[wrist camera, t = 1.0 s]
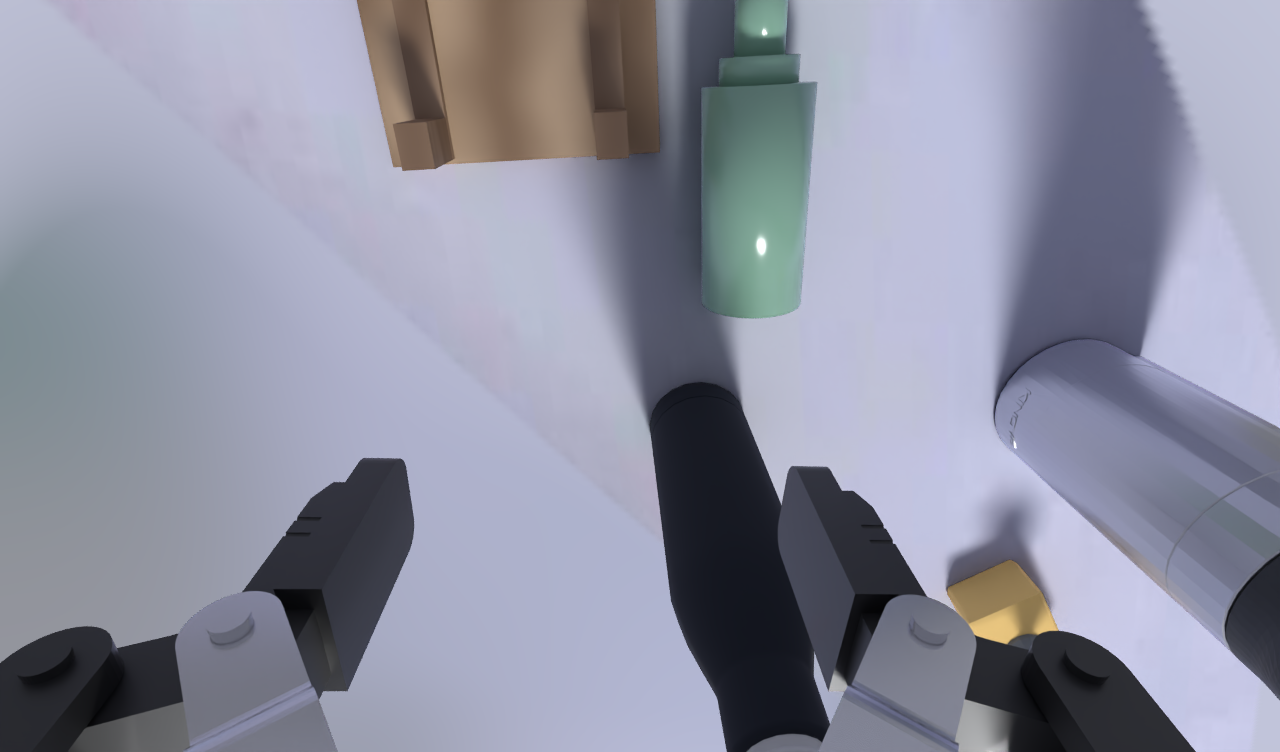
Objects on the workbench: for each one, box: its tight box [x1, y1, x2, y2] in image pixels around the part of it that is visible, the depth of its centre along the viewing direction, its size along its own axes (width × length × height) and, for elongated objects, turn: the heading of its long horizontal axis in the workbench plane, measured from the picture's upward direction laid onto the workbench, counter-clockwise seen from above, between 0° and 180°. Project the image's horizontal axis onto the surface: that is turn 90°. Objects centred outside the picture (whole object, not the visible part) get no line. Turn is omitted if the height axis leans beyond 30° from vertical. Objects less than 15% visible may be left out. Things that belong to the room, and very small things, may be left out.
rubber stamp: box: [947, 560, 1059, 650], centre depth 45 cm, size 10×6×12 cm, turn 32°
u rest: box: [357, 0, 660, 171], centre depth 28 cm, size 14×11×5 cm
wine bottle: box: [650, 382, 830, 752], centre depth 27 cm, size 6×6×30 cm
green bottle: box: [701, 0, 817, 318], centre depth 30 cm, size 16×6×6 cm, turn 3°
